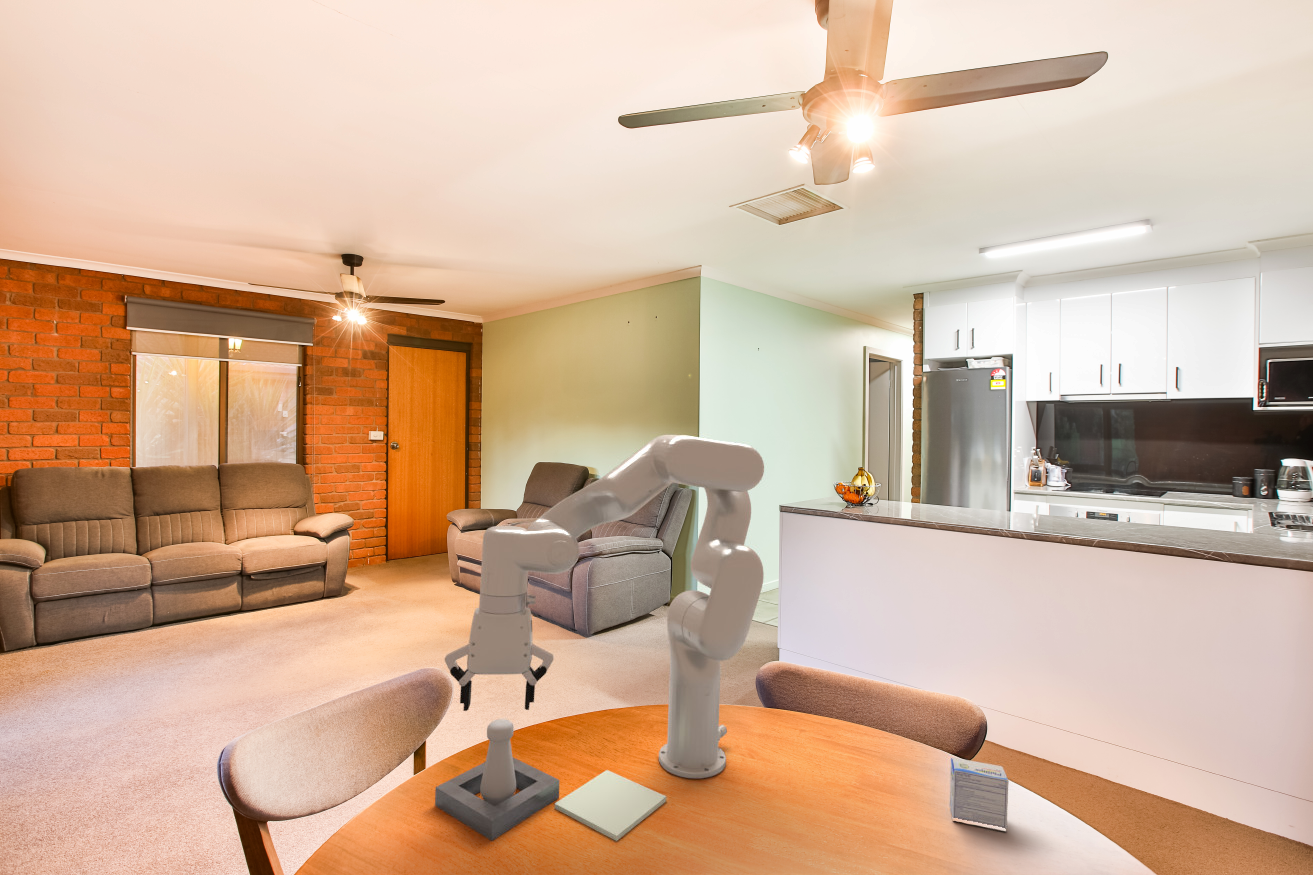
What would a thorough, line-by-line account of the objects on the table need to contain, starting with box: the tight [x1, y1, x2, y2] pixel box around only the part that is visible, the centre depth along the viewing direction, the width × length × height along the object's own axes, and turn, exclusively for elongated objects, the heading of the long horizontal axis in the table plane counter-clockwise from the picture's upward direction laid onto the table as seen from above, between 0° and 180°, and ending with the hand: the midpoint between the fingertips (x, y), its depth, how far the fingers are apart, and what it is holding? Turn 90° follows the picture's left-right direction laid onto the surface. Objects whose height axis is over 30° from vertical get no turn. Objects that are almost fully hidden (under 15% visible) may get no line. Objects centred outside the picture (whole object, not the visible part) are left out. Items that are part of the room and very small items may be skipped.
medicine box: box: [949, 757, 1010, 830], centre depth 101 cm, size 8×4×9 cm, turn 71°
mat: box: [554, 769, 667, 842], centre depth 102 cm, size 13×13×1 cm
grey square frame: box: [434, 757, 560, 841], centre depth 102 cm, size 14×14×3 cm
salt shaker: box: [479, 718, 517, 806], centre depth 102 cm, size 6×6×13 cm
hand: (497, 706), depth 101 cm, fingers open, 9 cm apart
